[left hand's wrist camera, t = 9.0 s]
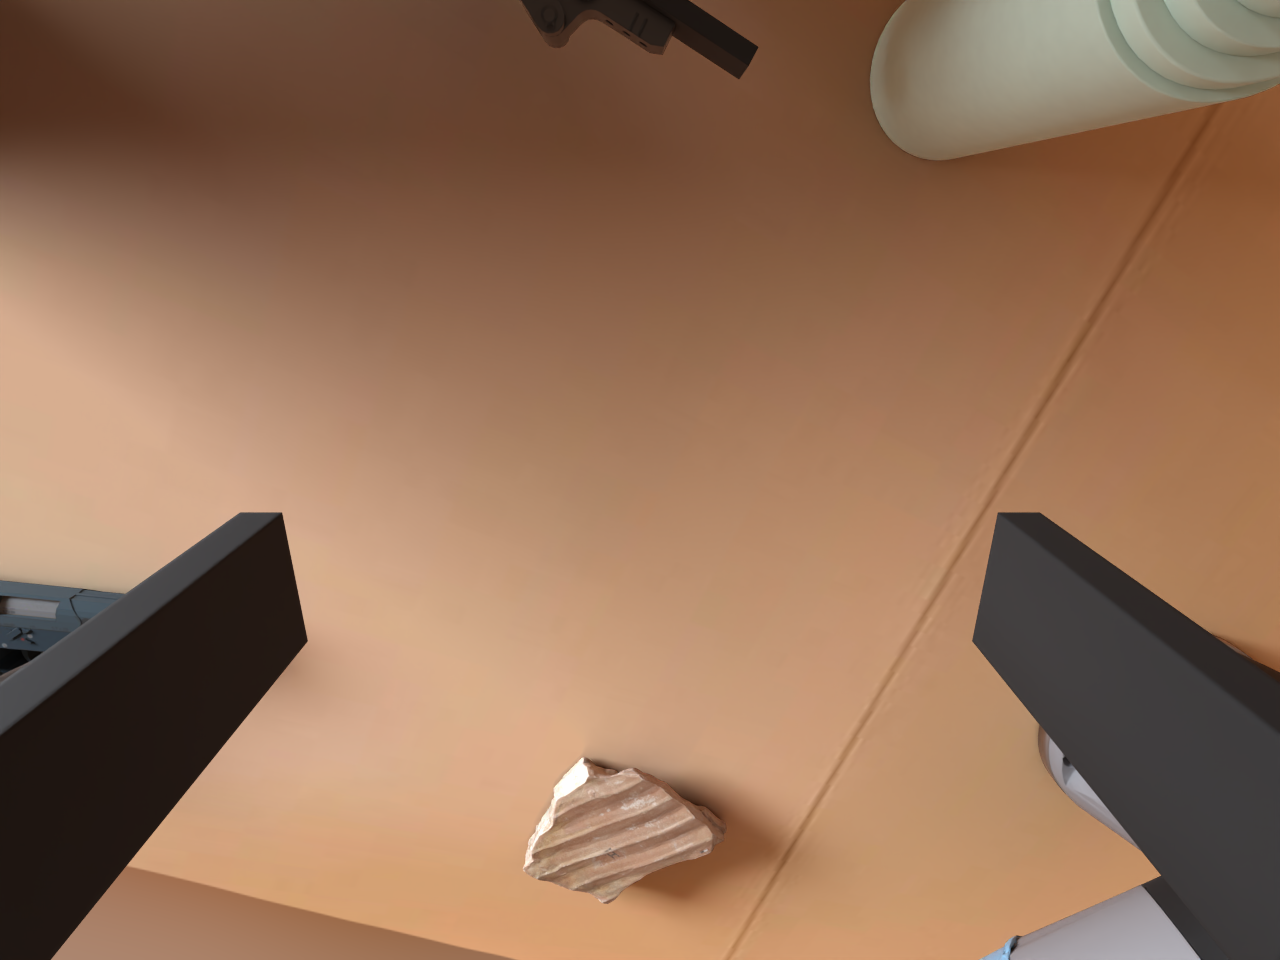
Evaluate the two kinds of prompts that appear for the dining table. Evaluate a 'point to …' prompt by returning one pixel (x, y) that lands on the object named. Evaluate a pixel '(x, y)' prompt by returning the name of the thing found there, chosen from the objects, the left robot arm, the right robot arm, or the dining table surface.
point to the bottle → (1061, 67)
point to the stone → (616, 831)
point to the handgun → (42, 618)
